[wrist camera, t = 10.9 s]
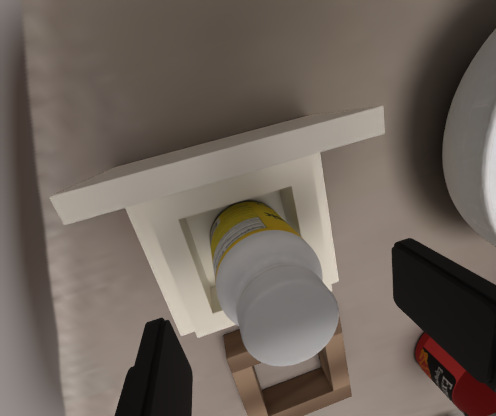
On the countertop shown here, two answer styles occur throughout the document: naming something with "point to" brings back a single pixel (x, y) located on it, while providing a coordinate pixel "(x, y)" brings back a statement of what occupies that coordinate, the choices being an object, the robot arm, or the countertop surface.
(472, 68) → the serving bowl
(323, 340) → the supplement bottle
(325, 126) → the cream rack
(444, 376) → the canned food
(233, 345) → the walnut socket block
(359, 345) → the countertop surface
